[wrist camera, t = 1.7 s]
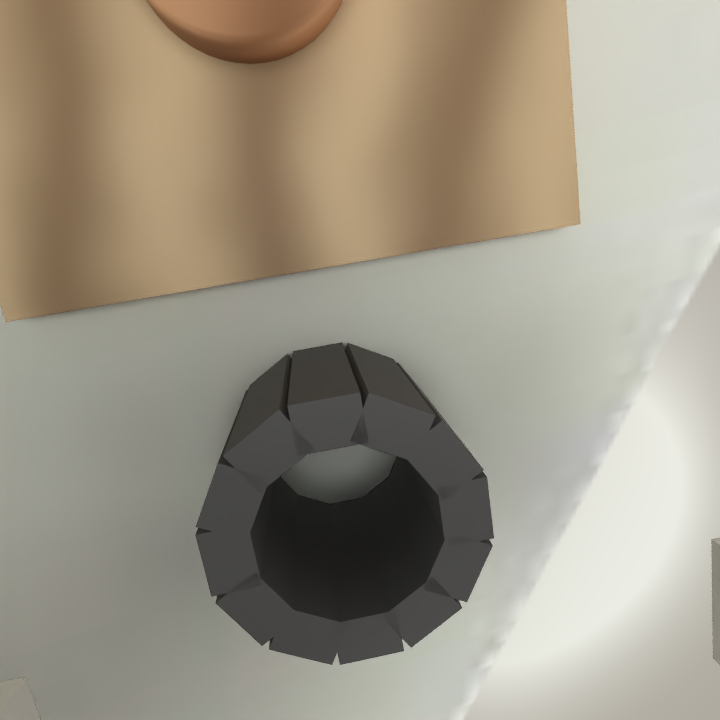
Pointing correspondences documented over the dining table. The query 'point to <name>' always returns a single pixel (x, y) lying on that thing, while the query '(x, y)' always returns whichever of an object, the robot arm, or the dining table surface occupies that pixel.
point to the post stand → (269, 138)
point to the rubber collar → (343, 512)
